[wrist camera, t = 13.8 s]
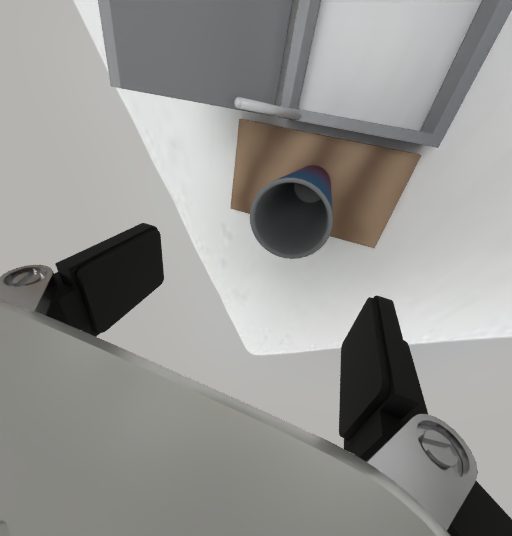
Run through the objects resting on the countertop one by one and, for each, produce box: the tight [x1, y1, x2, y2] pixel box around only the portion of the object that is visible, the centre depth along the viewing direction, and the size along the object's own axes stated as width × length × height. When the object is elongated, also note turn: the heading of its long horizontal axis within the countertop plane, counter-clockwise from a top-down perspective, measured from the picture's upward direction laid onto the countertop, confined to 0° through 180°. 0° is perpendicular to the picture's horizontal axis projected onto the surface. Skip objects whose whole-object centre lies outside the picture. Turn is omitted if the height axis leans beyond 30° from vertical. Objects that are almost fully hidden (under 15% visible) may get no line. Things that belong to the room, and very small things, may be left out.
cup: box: [250, 165, 333, 259], centre depth 25 cm, size 7×7×15 cm
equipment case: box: [234, 0, 512, 148], centre depth 19 cm, size 18×16×12 cm
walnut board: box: [231, 119, 421, 248], centre depth 32 cm, size 22×12×1 cm, turn 80°
